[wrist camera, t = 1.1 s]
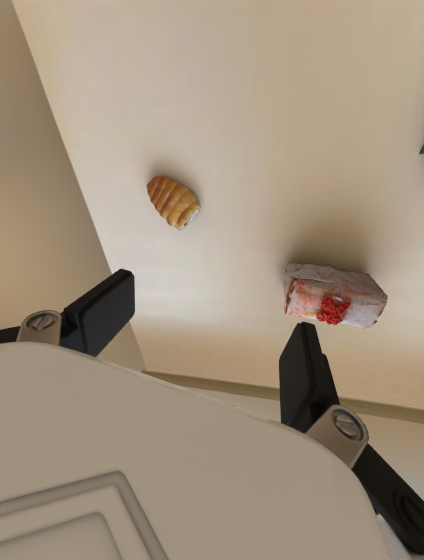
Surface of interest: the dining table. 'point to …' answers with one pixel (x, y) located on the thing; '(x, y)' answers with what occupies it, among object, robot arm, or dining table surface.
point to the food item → (332, 295)
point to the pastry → (173, 201)
